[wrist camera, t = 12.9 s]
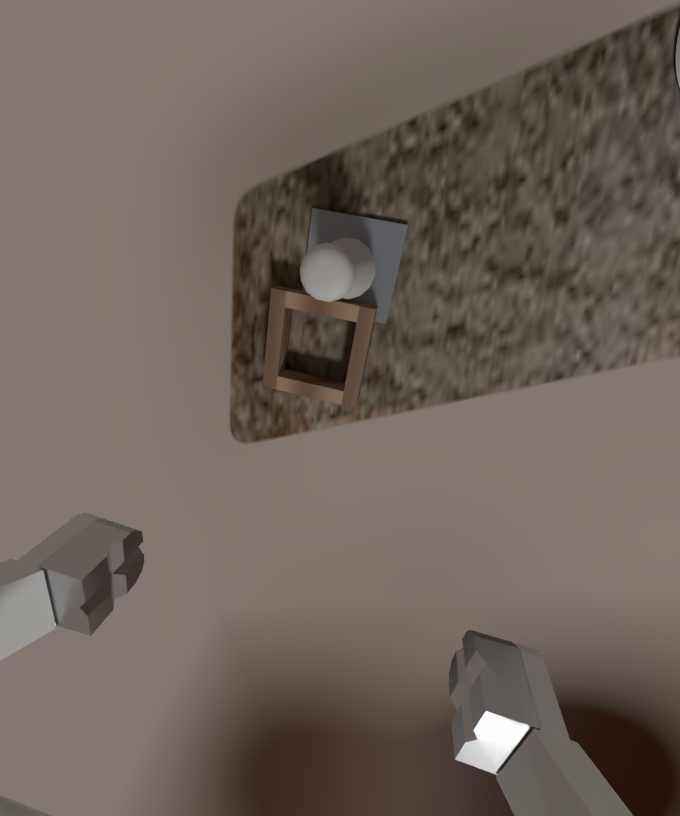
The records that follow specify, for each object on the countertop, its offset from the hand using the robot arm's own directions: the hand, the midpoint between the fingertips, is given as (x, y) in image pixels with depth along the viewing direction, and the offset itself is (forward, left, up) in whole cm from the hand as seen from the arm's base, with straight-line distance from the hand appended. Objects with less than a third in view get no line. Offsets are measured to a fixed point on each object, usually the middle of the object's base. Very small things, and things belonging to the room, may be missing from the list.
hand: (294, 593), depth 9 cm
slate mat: (+5, -5, -35) cm, 36 cm away
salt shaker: (+5, -5, -35) cm, 36 cm away
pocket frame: (+7, +4, -36) cm, 36 cm away
